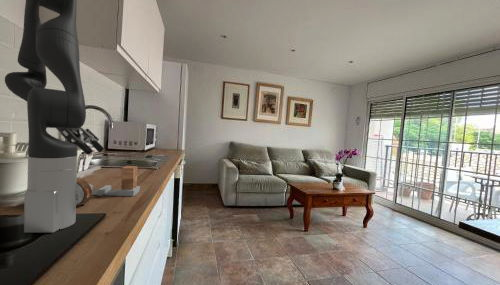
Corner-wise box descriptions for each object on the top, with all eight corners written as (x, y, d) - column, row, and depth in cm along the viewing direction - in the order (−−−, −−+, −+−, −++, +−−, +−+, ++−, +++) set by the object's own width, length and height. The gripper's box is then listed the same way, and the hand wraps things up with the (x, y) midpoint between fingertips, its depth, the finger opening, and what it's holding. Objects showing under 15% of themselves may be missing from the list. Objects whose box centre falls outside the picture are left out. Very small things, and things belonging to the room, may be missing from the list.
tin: (92, 205, 74) (93, 178, 73) (84, 208, 71) (85, 180, 70) (49, 200, 75) (49, 174, 75) (39, 203, 72) (39, 176, 72)
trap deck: (133, 196, 85) (133, 189, 85) (65, 194, 82) (65, 188, 82) (139, 191, 92) (139, 185, 92) (76, 189, 89) (76, 183, 89)
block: (132, 189, 87) (133, 168, 86) (121, 189, 86) (122, 167, 86) (136, 186, 91) (137, 166, 90) (125, 186, 90) (126, 166, 90)
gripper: (58, 109, 77) (95, 146, 79) (82, 112, 91) (113, 143, 93) (39, 125, 76) (77, 161, 79) (66, 125, 90) (98, 156, 93)
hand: (96, 151), depth 86 cm, fingers open, 8 cm apart
